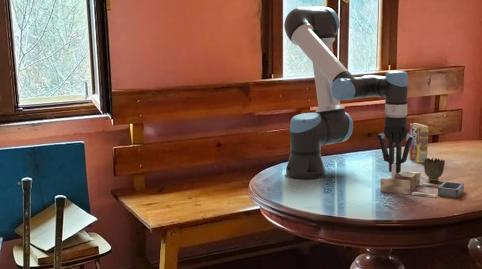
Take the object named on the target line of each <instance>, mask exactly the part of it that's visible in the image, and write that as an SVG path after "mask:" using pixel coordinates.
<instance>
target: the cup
mask: <svg viewBox="0 0 482 269" xmlns="http://www.w3.org/2000/svg"><path fill="white" fill-rule="evenodd" d="M445 162H446V159H443V158H441V159H440V158H437V157H435V158H433V157H432V158H429V157H427V159H426V158H425V161H424V163H423V168H424V174H425V176H427V177H428V178H427V179H428V181H429V182H432V183H438V182H439V180H440V177H441V176H442V175H443V173H444V169H445Z"/></svg>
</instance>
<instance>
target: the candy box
mask: <svg viewBox="0 0 482 269" xmlns="http://www.w3.org/2000/svg"><path fill="white" fill-rule="evenodd" d="M409 134H410V135H411V136H414V140H413V141H412V142H411V146H410V149H409V153H408V159H409V160H411V161H413V162H416V163H418V164H424V161H425V158H426V159H427V158H428V149H429V148H428V147H429V134H430V132H429V126H428V125H425V124H422V123H416V122H413V123H410V124H409Z"/></svg>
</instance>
